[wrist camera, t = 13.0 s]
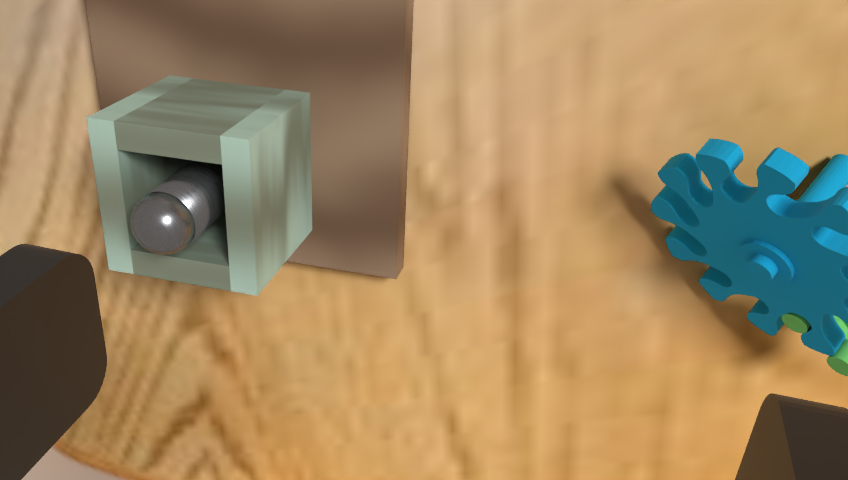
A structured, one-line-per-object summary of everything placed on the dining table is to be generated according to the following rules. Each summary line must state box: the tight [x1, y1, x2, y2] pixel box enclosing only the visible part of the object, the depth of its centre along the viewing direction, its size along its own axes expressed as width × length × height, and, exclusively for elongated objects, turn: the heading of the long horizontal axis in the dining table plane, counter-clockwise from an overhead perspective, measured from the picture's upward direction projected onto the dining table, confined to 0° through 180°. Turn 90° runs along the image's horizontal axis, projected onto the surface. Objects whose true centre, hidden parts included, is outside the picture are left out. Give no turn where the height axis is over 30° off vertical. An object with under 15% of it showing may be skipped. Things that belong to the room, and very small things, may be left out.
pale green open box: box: [86, 76, 312, 296], centre depth 33 cm, size 6×6×6 cm
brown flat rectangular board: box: [85, 0, 414, 279], centre depth 33 cm, size 22×14×1 cm, turn 177°
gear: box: [651, 139, 848, 376], centre depth 30 cm, size 11×6×10 cm
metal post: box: [130, 161, 225, 255], centre depth 32 cm, size 2×2×8 cm
